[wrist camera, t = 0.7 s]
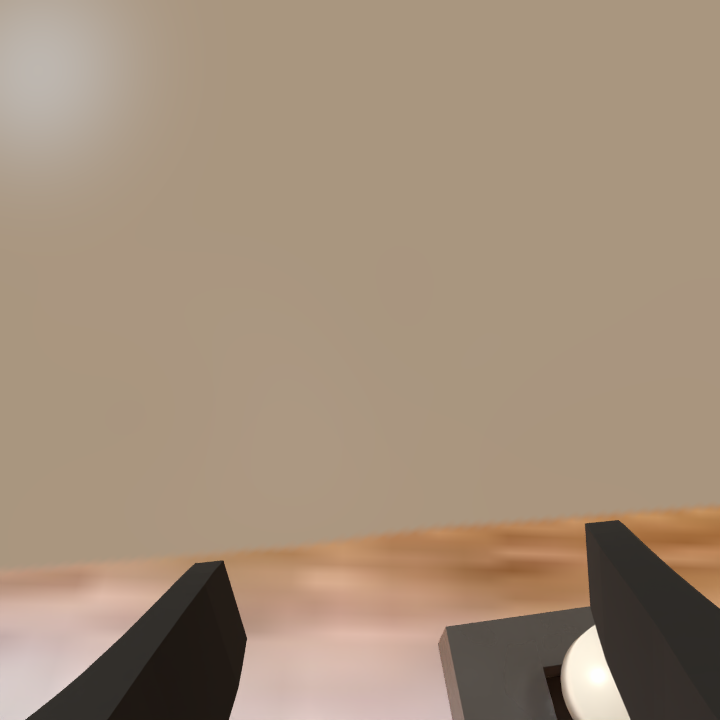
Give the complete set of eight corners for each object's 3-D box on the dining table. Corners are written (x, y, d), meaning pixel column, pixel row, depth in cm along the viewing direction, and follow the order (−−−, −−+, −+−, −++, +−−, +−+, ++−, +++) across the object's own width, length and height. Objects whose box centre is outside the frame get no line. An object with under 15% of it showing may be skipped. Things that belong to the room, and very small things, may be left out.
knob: (664, 755, 24) (717, 743, 20) (559, 772, 23) (595, 763, 20) (623, 640, 26) (665, 611, 23) (528, 654, 26) (555, 627, 22)
